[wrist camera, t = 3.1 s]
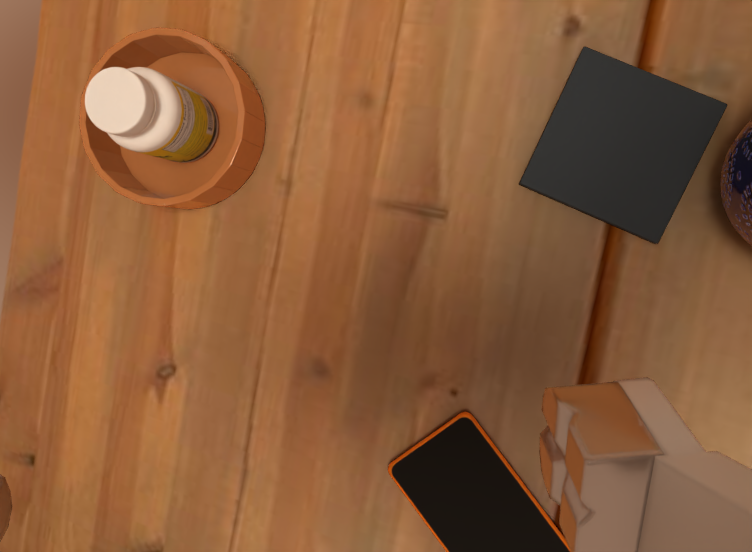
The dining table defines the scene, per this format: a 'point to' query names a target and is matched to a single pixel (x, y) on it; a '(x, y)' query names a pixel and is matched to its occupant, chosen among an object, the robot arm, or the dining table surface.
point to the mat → (622, 144)
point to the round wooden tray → (215, 82)
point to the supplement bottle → (151, 113)
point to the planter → (739, 183)
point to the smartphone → (472, 493)
